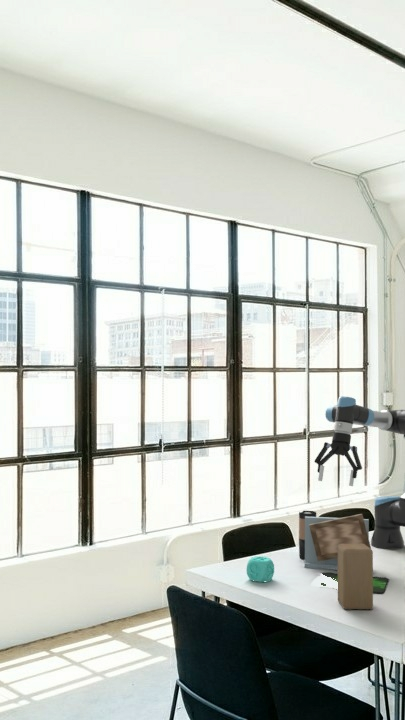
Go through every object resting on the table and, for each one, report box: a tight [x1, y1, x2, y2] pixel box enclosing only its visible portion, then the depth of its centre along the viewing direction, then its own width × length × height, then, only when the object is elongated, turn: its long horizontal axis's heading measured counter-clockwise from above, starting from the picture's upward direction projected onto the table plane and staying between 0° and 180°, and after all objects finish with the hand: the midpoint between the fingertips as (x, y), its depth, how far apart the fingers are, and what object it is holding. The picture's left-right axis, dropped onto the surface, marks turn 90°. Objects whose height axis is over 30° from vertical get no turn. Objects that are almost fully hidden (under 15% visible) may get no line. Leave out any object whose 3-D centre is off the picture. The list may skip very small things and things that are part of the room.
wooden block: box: [337, 544, 374, 610], centre depth 231 cm, size 10×10×20 cm
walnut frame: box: [309, 513, 372, 562], centre depth 277 cm, size 22×2×15 cm, turn 79°
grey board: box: [303, 516, 370, 570], centre depth 283 cm, size 26×8×20 cm, turn 79°
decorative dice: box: [246, 556, 275, 583], centre depth 262 cm, size 8×8×8 cm
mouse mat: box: [321, 571, 390, 595], centre depth 259 cm, size 27×22×1 cm
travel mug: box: [298, 510, 317, 561], centre depth 297 cm, size 8×8×20 cm
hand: (335, 483), depth 284 cm, fingers open, 13 cm apart
